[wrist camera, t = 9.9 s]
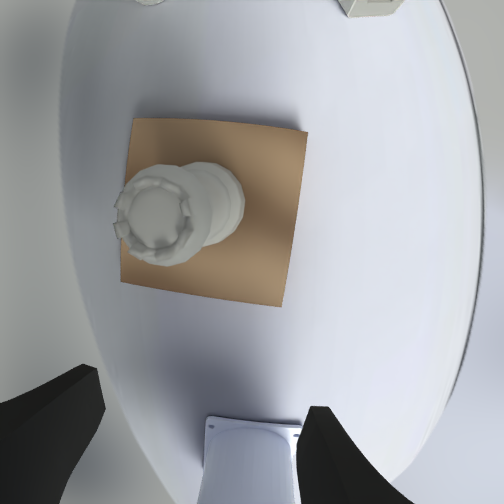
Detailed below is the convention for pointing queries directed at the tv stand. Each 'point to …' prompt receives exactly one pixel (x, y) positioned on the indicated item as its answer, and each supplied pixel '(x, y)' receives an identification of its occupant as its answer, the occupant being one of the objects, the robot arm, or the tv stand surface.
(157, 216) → the rook chess piece
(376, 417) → the tv stand surface
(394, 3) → the usb wall charger
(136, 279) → the walnut plinth
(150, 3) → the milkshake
